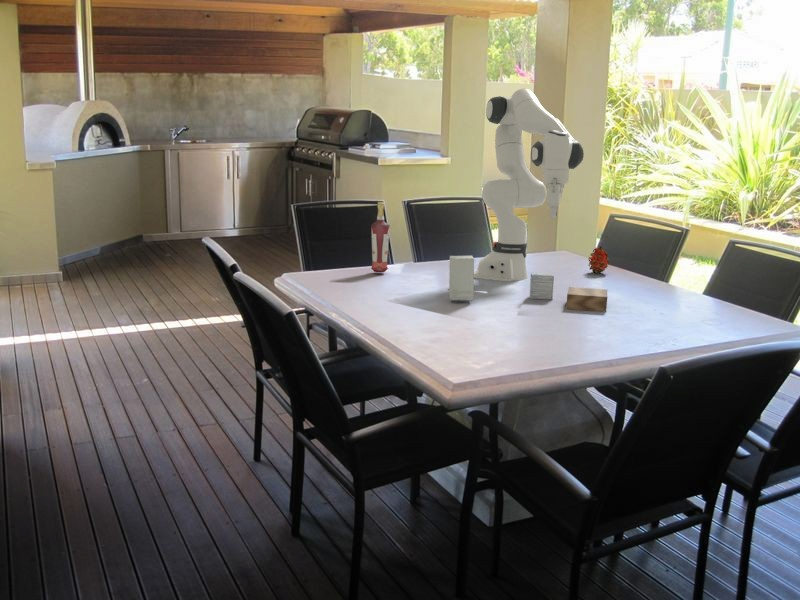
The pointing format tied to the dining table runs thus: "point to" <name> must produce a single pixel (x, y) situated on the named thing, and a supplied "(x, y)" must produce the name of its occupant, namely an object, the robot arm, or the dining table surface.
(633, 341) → the dining table surface
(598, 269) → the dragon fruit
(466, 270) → the skincare box
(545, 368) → the dining table surface
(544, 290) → the grey streaked block
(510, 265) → the robot arm
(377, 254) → the liquor
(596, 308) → the walnut block
